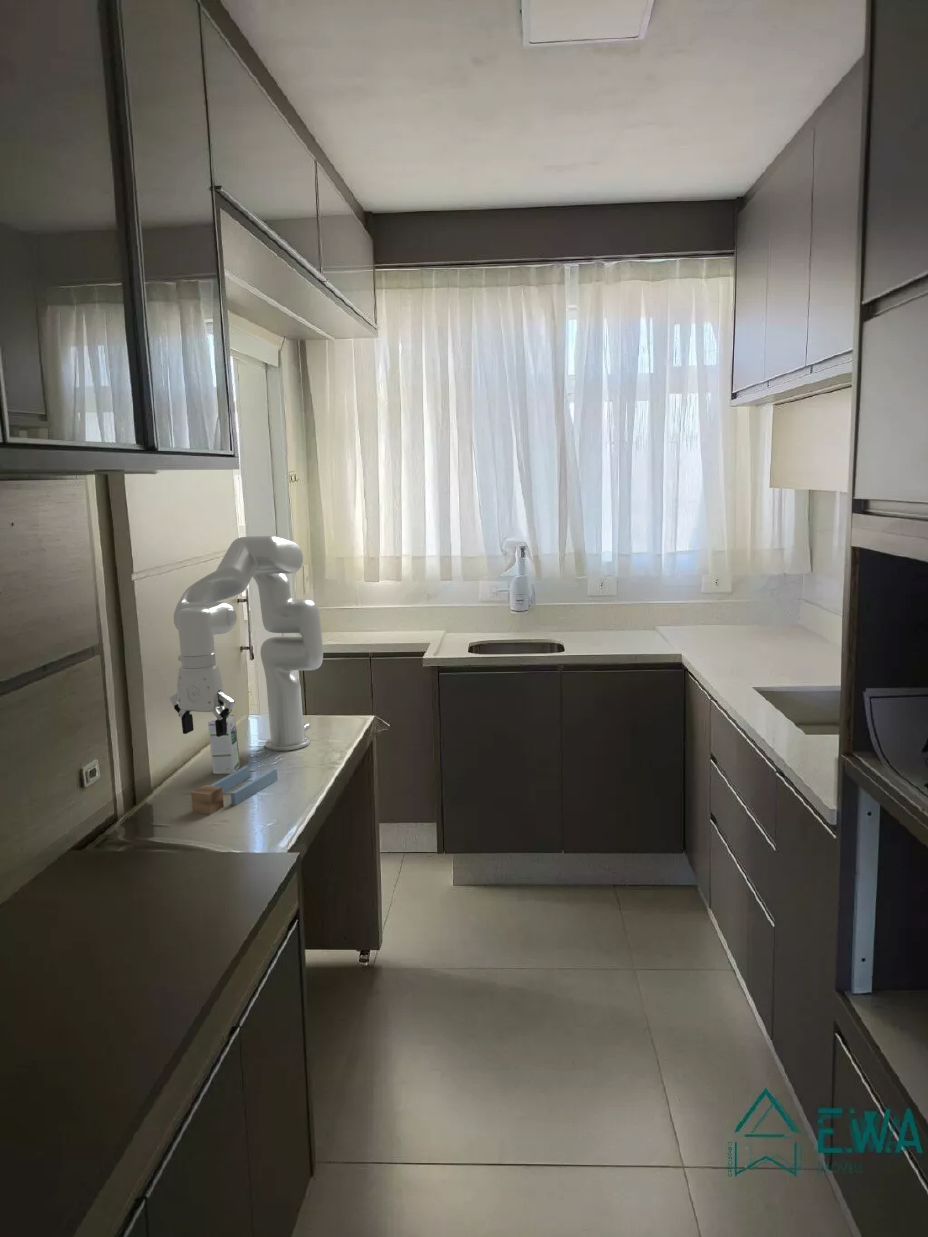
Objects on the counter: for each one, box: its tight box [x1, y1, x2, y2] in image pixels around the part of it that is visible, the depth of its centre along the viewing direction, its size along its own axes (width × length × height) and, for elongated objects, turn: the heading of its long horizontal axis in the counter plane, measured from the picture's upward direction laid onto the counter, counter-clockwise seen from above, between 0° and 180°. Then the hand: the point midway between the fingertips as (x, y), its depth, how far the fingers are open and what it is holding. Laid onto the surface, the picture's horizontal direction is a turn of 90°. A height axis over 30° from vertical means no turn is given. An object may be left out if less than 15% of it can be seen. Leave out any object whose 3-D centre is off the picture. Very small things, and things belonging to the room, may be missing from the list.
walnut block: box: [190, 784, 225, 816], centre depth 210 cm, size 5×5×5 cm
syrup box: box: [207, 714, 241, 775], centre depth 237 cm, size 6×6×14 cm
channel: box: [209, 765, 278, 806], centre depth 222 cm, size 18×9×3 cm, turn 159°
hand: (204, 733), depth 208 cm, fingers open, 9 cm apart
